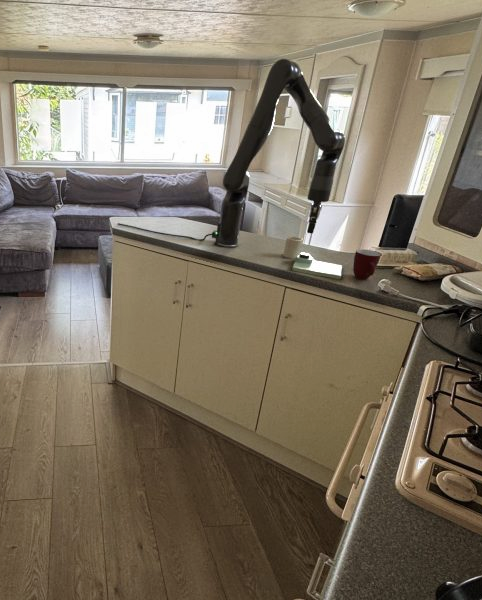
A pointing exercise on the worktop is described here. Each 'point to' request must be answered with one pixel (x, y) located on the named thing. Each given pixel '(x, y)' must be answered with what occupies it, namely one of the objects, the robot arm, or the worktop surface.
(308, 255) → the tare button
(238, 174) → the robot arm
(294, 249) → the cream cup
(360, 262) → the mug
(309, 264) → the scale
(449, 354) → the worktop surface
